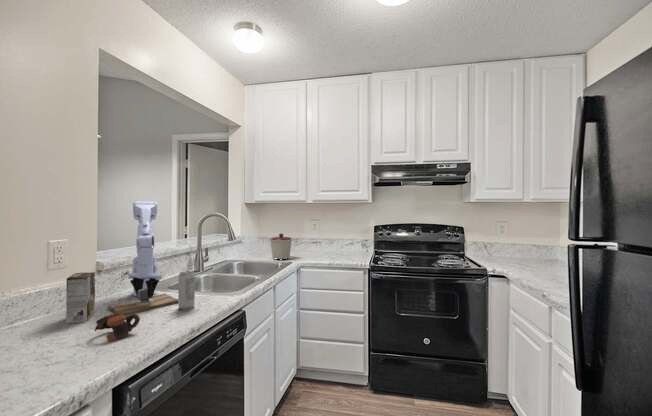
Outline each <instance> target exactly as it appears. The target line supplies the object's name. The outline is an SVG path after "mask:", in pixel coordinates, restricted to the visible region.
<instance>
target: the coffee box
mask: <svg viewBox="0 0 652 416" xmlns="http://www.w3.org/2000/svg"><path fill="white" fill-rule="evenodd" d="M95 274H96V272H92V271H91V272H75V273H73V274H72V275H69V277H67V278H66V290H65V291H66V293H65V294H66V296H65V297H66V299H65V300H66V301H65V304H66V307H65V308H66V309H65V311H66V312H65V317H66V318H65V324H67V325H68V324H76V323H83V322H88V321H90V319H91V318H92V317H93V316H94V314H95V313H96V275H95Z"/></svg>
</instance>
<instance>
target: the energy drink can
mask: <svg viewBox="0 0 652 416" xmlns="http://www.w3.org/2000/svg"><path fill="white" fill-rule="evenodd" d="M195 277H196V274H195V272H194V270H193V269H183V270H181V271H180V273H179V274H178V296H177V297H178V298H177V299H178V303H177V305H178V308H179V309H180V310H191V309H192V308H194V306H195V300H196V299H195V295H196V294H195V292H196V290H195V289H196V288H195V287H196V286H195V282H196V281H195Z"/></svg>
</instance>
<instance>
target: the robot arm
mask: <svg viewBox="0 0 652 416" xmlns="http://www.w3.org/2000/svg"><path fill="white" fill-rule="evenodd" d="M132 213H133V219H134V220H136V221H138V225H137V237H136V240H135V241H136V245H135V247H136V254H137V256H136V257H134V258H133V259H132V268H131V269H132V272H131V273H128V274H127V276H128V279H129V281H130V283H131V285H132V286H133V289H132V290H133V291H132V292H131V293H130V294H131V295H133V296H135V297H137V291H138V290H140V289H148V297H152V296H154V295H158V293H157V292H156V291H155V290H156V288H157V285H158V284H159V282H160V280H163V274H160V273H157V267H158V263H157V257H156V256H154V248H155V246H156V245H155V241H156V239H155V234H154V227H153V226H154V225H153V224H152V221H153V220H156V218H157V213H158V202H157V201H156V200H155V201H140V200H139V201H137V200H134V201H133V202H132ZM130 279H131V280H130Z"/></svg>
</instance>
